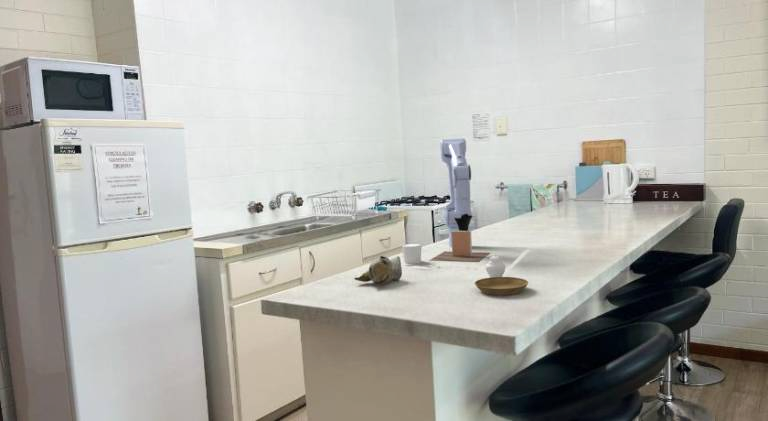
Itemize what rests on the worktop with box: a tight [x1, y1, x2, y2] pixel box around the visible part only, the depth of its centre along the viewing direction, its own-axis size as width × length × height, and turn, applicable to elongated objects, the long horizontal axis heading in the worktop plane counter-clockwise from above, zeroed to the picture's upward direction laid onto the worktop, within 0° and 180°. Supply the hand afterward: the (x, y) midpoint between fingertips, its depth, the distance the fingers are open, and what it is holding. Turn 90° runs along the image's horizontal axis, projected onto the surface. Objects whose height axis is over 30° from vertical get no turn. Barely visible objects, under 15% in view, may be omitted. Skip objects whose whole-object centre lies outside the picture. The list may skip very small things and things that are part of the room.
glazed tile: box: [451, 230, 473, 256], centre depth 216 cm, size 2×7×9 cm, turn 66°
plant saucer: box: [474, 276, 529, 296], centre depth 167 cm, size 15×15×3 cm
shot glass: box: [401, 243, 423, 267], centre depth 209 cm, size 7×7×7 cm
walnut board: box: [428, 250, 491, 263], centre depth 215 cm, size 18×18×1 cm
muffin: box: [484, 255, 507, 278], centre depth 182 cm, size 6×6×7 cm
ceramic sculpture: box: [353, 255, 403, 286], centre depth 183 cm, size 11×9×15 cm
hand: (463, 235), depth 218 cm, fingers closed
